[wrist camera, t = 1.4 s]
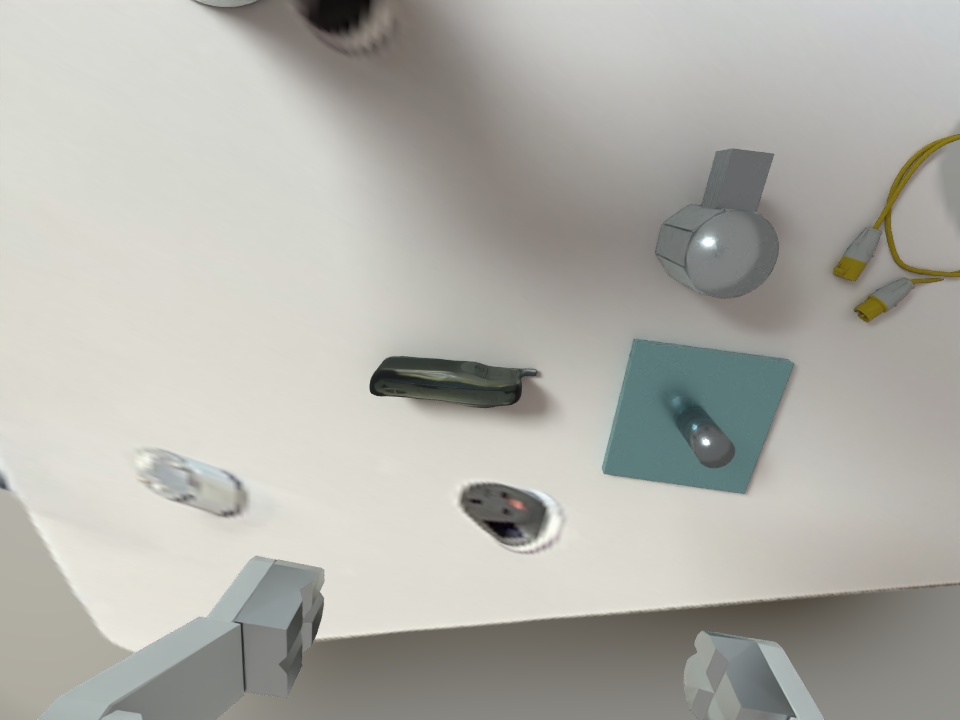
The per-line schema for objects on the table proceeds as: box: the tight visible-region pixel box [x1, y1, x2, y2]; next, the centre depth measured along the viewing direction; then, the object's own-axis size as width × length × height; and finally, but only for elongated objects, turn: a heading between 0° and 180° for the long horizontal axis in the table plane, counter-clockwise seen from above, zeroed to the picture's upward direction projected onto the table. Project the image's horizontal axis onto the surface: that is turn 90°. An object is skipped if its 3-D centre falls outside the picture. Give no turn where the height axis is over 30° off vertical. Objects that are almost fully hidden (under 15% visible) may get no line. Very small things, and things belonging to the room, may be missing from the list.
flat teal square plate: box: [602, 339, 794, 494], centre depth 42 cm, size 14×14×6 cm
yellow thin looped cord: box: [833, 134, 960, 322], centre depth 37 cm, size 12×16×2 cm
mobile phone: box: [370, 356, 537, 408], centre depth 43 cm, size 5×3×15 cm
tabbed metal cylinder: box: [655, 149, 779, 298], centre depth 36 cm, size 10×6×8 cm, turn 173°
